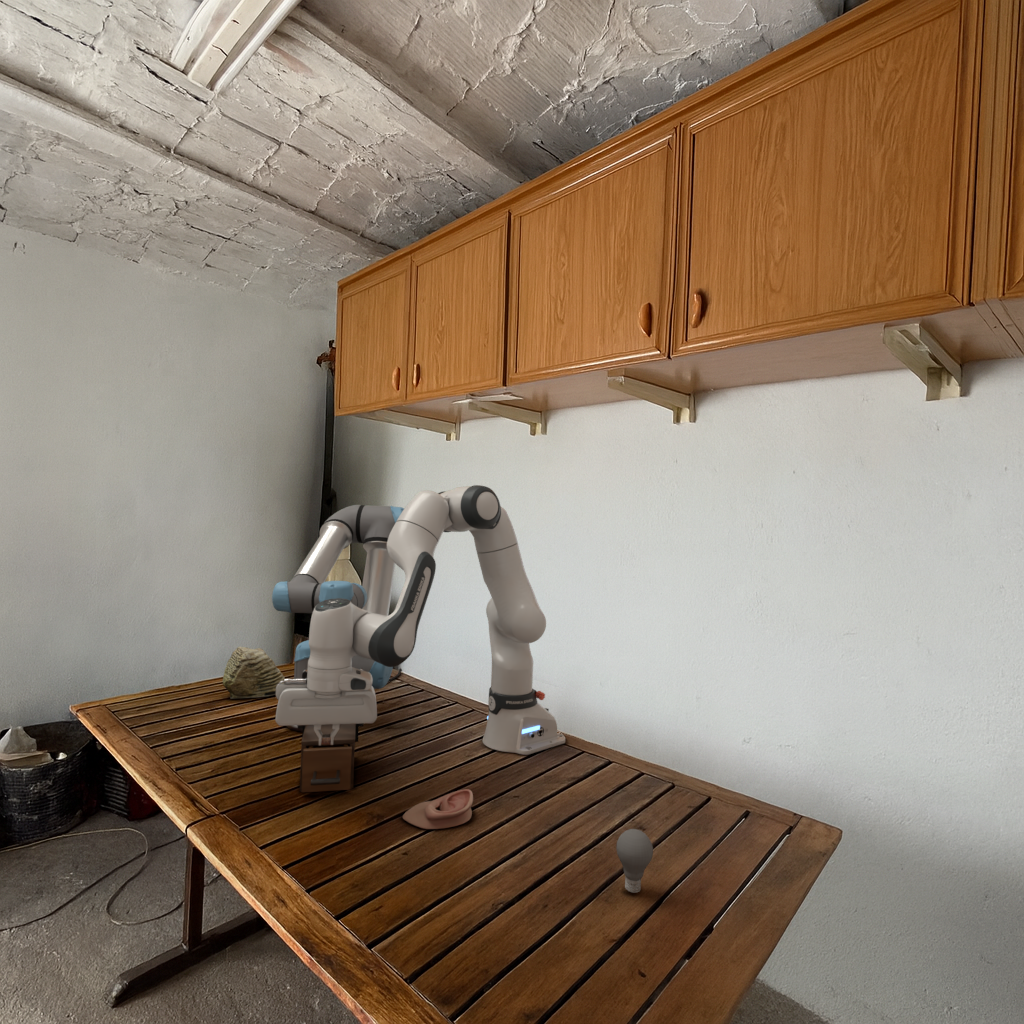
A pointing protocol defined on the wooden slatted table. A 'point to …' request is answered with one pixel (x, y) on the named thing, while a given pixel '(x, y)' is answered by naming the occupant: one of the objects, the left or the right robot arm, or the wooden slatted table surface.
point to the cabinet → (342, 737)
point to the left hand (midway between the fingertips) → (330, 740)
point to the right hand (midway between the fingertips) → (326, 744)
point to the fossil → (251, 674)
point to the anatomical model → (442, 811)
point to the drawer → (326, 768)
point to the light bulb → (634, 857)
